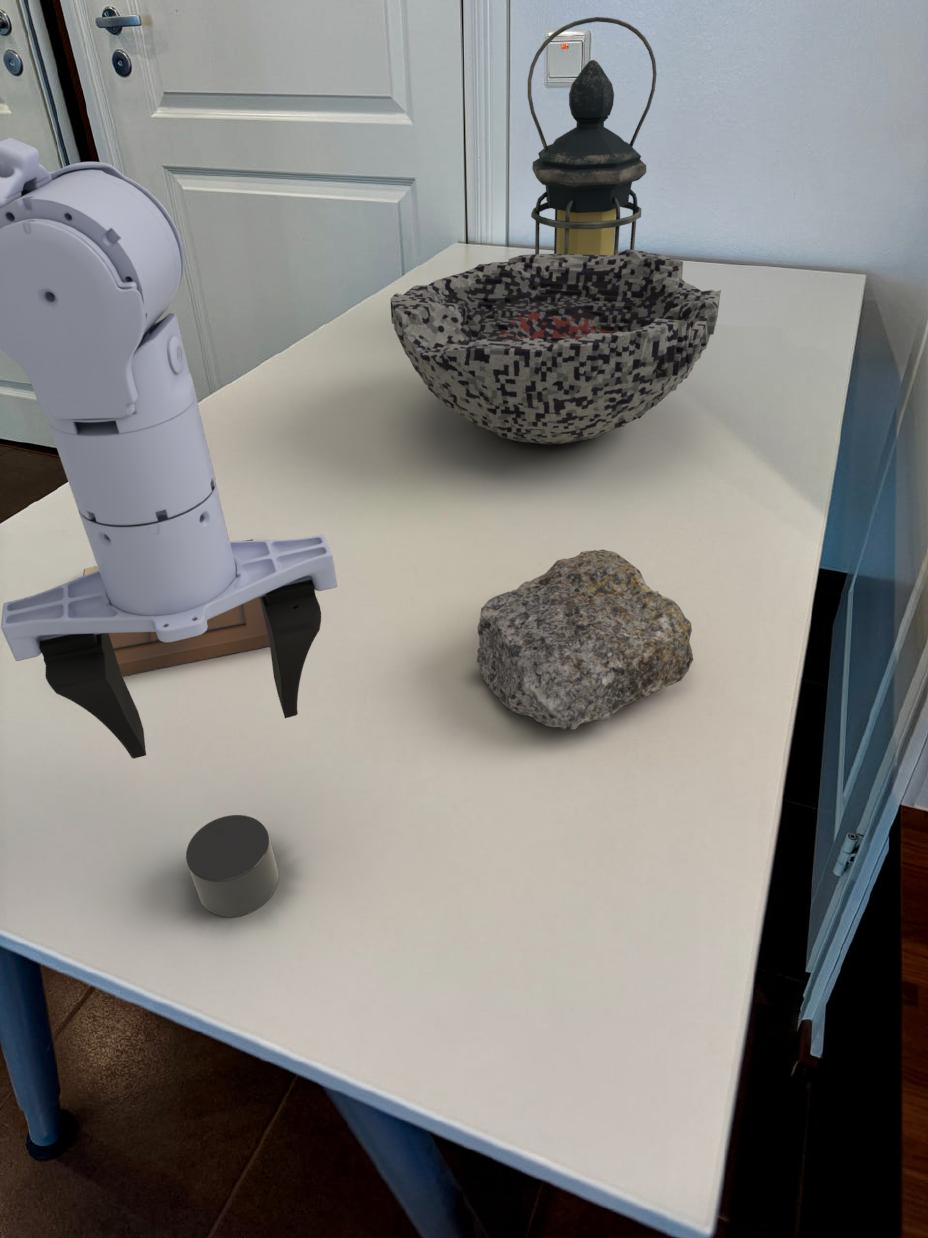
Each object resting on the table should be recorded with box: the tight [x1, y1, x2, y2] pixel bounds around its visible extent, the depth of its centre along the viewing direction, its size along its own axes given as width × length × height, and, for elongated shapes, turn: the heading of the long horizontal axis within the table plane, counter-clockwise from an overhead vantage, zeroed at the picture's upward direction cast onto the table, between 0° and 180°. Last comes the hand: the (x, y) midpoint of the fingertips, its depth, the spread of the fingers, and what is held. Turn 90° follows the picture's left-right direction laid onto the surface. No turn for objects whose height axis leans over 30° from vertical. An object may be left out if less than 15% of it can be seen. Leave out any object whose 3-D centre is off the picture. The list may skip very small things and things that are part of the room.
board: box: [82, 538, 270, 677], centre depth 69 cm, size 14×14×1 cm
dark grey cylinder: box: [185, 814, 279, 918], centre depth 48 cm, size 4×4×3 cm
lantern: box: [527, 16, 658, 255], centre depth 104 cm, size 14×13×35 cm
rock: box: [476, 549, 694, 730], centre depth 61 cm, size 13×6×15 cm
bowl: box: [389, 248, 722, 445], centre depth 90 cm, size 31×31×15 cm
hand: (214, 724), depth 45 cm, fingers open, 7 cm apart
